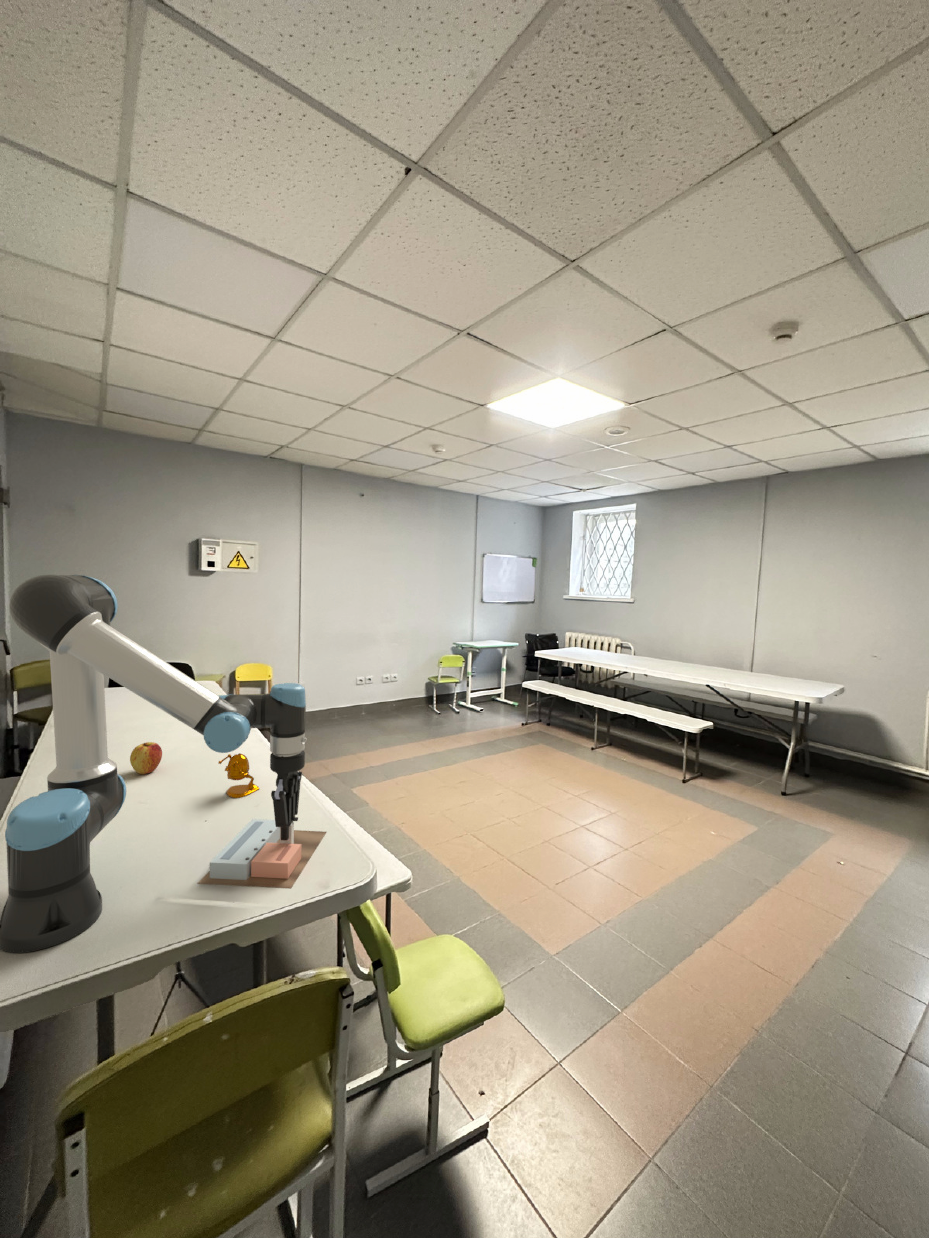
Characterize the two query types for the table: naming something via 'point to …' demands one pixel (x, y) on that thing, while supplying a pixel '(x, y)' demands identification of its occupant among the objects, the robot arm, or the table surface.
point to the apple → (146, 757)
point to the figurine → (239, 776)
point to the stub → (276, 860)
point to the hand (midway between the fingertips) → (286, 850)
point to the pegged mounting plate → (243, 850)
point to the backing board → (308, 847)
